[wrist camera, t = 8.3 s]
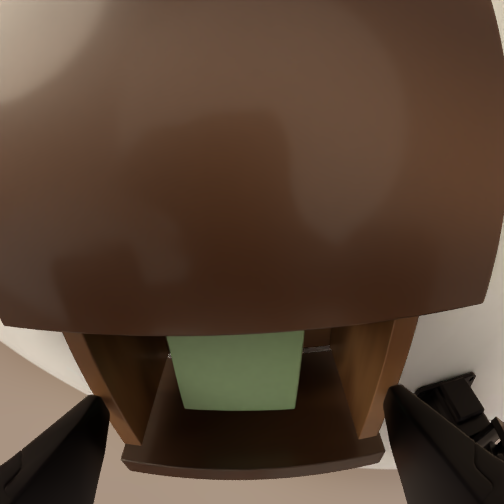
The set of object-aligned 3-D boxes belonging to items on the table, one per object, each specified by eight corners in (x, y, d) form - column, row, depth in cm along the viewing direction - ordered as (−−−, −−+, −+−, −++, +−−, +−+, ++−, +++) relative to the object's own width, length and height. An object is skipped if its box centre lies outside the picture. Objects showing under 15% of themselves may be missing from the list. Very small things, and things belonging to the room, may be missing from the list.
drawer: (337, 404, 18) (359, 493, 12) (174, 412, 19) (156, 500, 12) (362, 118, 12) (469, 118, 5) (106, 139, 12) (-9, 161, 5)
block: (285, 341, 15) (295, 409, 11) (198, 342, 15) (184, 409, 11) (289, 262, 13) (306, 322, 9) (187, 263, 13) (163, 322, 9)
